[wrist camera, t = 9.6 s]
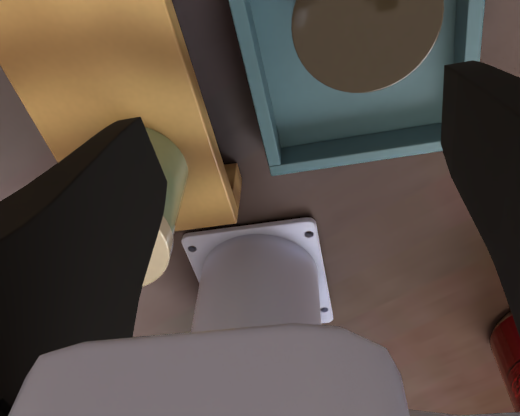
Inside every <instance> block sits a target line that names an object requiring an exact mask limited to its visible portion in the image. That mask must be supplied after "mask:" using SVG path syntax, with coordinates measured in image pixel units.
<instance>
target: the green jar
mask: <svg viewBox="0 0 520 416" xmlns="http://www.w3.org/2000/svg"><path fill="white" fill-rule="evenodd" d="M145 128H146V131H147V133H148V136H149V138H150V141H151V143H152V146H153V148H154V150H155V153H156V155H157V158H158V160H159V163H160V165H161V167H162V170H163V172H164V175H165V177H166V180H167V182H168V183H167V192H166V201H165V208H164V214H163V218H162V222H161V225H160V229H159V232H158V236H157V239H156V242H155V246H154V249H153V252H152V255H151V259H150V262H149V265H148V269H147V272H146V275H145V279H144V282H143V285H142V287H143V286H146V285H148V284H150V283H152V282H154V281H155V280H157V279H158V278H159V277H160V276H161V275H162V274H163V273H164V272H165V270H166V269H167V266H168V264H169V261H170V257H171V253H172V249H173V235H174V231H175V227H176V223H177V219H178V216H179V212H180V208H181V204H182V200H183V197H184V193H185V189H186V185H187V181H188V166H187V163H186V160H185V158H184V156H183V154H182V153H181V151H180V150H179V148H178V147H177V146H176V145H175V144H174V143H173V142H172V141H171V140H170V139H168V138H167V137H166V136H164V135H162V134H161V133H159V132H157V131H155V130H153V129H150V128H147V127H145Z"/></svg>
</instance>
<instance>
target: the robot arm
mask: <svg viewBox="0 0 520 416" xmlns="http://www.w3.org/2000/svg"><path fill="white" fill-rule="evenodd" d="M441 146H442V149H443V153H444V156H445V159H446V162H447V165H448V168H449V171H450V174H451V177H452V179H453V181H454V183H455V185H456V187H457V189H458V191H459V193H460V195H461V197H462V199H463V201H464V203H465V205H466V207H467V209H468V211H469V213H470V215H471V217H472V219H473V221H474V223H475V225H476V227H477V229H478V231H479V233H480V235H481V237H482V239H483V241H484V243H485V245H486V247H487V249H488V251H489V253H490V255H491V258H492V260H493V262H494V265H495V267H496V270H497V273H498V276H499V278H500V281H501V284H502V287H503V289H504V292H505V295H506V298H507V301H508V304H509V307H510V310H511V313H512V316H513V319H514V322H515V325H516V328H517V331H518V334H519V337H520V78H519V77H517V76H514V75H512V74H509V73H507V72H505V71H502V70H500V69H497V68H495V67H492V66H490V65H487V64H484V63H481V62H478V61H474V60H472V61H466V62H460V63H454V64H448V65H444V81H443V102H442V124H441ZM167 183H168V182H167V180H166V177H165V175H164V172H163V170H162V167H161V165H160V163H159V160H158V158H157V155H156V153H155V150H154V148H153V146H152V143H151V141H150V138H149V136H148V133H147V131H146V128H145V126H144V124H143V121H142V119H141V117H135V118H129V119H123V120H118V121H116V122H114V123H112V124H110V125H109V126H107V127H105V128H104V129H103V130H101V131H100V132H98V133H97V134H96V135H94V136H93V137H91V138H90V139H89V140H87V141H86V142H85V143H84V144H82V145H81V146H80V147H78V148H77V149H76V150H74V151H73V152H72V153H70V154H69V155H68V156H66V157H65V158H64V159H63V160H61V161H60V162H59V163H57V164H56V165H54V166H53V167H51V168H50V169H49V170H47V171H46V172H44V173H43V174H42V175H40V176H39V177H37V178H36V179H35V180H33V181H32V182H30V183H29V184H27V185H26V186H24V187H23V188H21V189H20V190H18V191H17V192H15V193H14V194H12V195H10V196H9V197H7V198H5V199H4V200H2V201H0V416H520V412H513V413H495V414H477V415H453V414H444V413H435V412H427V411H418V410H409V409H408V406H407V401H406V396H405V391H404V386H403V382H402V377H401V374H400V372H399V370H398V368H397V366H396V365H395V363H394V361H393V359H392V357H391V356H390V354H389V352H388V350H387V349H386V348H385V347H383V346H381V345H379V344H377V343H375V342H373V341H370V340H368V339H366V338H364V337H362V336H360V335H357V334H355V333H353V332H351V331H349V330H347V329H344V328H342V327H340V326H327V325H321V323H328V322H331V321H332V320H333V312H332V306H331V301H330V296H329V290H328V285H327V279H326V274H325V268H324V263H323V257H322V252H321V246H320V241H319V235H318V230H317V225H316V221H315V220H314V219H313V218H310V217H305V218H298V219H290V220H282V221H275V222H267V223H259V224H252V225H244V226H237V227H229V228H221V229H214V230H206V231H198V232H191V233H186V234H184V235H183V237H182V240H181V242H182V245H183V247H184V250H185V252H186V254H187V256H188V259H189V261H190V263H191V265H192V268H193V270H194V272H195V274H196V277H197V279H198V281H199V283H200V285H199V290H198V296H197V301H196V307H195V312H194V318H193V323H192V329H191V332H186V333H175V334H164V335H153V336H142V337H133V330H134V325H135V319H136V313H137V307H138V302H139V297H140V293H141V289H142V285H143V282H144V279H145V275H146V272H147V269H148V265H149V262H150V259H151V255H152V252H153V249H154V246H155V242H156V239H157V236H158V232H159V229H160V225H161V222H162V218H163V214H164V208H165V201H166V192H167ZM307 231H311V233H306V232H307ZM191 246H194V247H191Z"/></svg>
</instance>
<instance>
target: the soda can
mask: <svg viewBox="0 0 520 416" xmlns="http://www.w3.org/2000/svg"><path fill="white" fill-rule="evenodd" d="M490 345H491V350H492V352H493V355H494V358H495V360H496V363H497V365H498V368H499V371H500V373H501V376H502V379H503V381H504V384H505V386H506V389H507V392H508V394H509V397H510V400H511V402H512V405H513V407H514V410H515V412H520V337H519V334H518V331H517V328H516V325H515V322H514V319H513V316H512V313H511V312H509V313H508V314H507V315H506V316H504V317H503V318H502V319H501V320H500V321H499V322H498V323H497V325H496V327H495V329H494V330H493V332H492V334H491V339H490Z"/></svg>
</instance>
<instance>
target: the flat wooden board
mask: <svg viewBox="0 0 520 416" xmlns="http://www.w3.org/2000/svg"><path fill="white" fill-rule="evenodd" d="M0 65H1V67H2V69H3V71H4V72H5V74H6V76H7V77H8V79H9V81H10V82H11V84H12V86H13V88H14V89H15V91H16V93H17V94H18V96H19V98H20V99H21V101H22V103H23V105H24V106H25V108H26V110H27V111H28V113H29V115H30V116H31V118H32V120H33V121H34V123H35V125H36V127H37V128H38V130H39V132H40V133H41V135H42V137H43V138H44V140H45V142H46V144H47V145H48V147H49V149H50V150H51V152H52V154H53V155H54V157H55V159H56V161H57V162H58V163H59V162H60V161H61V160H63V159H64V158H65V157H66V156H68V155H69V154H70V153H72V152H73V151H74V150H76V149H77V148H78V147H80V146H81V145H82V144H84V143H85V142H86V141H87V140H89V139H90V138H91V137H93V136H94V135H96V134H97V133H98V132H100V131H101V130H103V129H104V128H105V127H107V126H109V125H110V124H112V123H114V122H116V121H118V120H123V119H129V118H135V117H141V119H142V121H143V124H144V126H145V127H147V128H150V129H153V130H155V131H157V132H159V133H161V134H162V135H164V136H166V137H167V138H168V139H170V140H171V141H172V142H173V143H174V144H175V145H176V146H177V147H178V148H179V150H180V151H181V153H182V154H183V156H184V158H185V160H186V163H187V166H188V181H187V185H186V189H185V193H184V197H183V200H182V204H181V208H180V212H179V216H178V219H177V223H176V227H175V231H183V230H190V229H198V228H206V227H213V226H221V225H228V224H236V223H237V218H238V210H239V202H240V194H241V185H242V178H241V175H240V171H239V168H238V165H237V163H232V164H226V165H224V164H223V161H222V157H221V154H220V151H219V148H218V145H217V142H216V139H215V135H214V132H213V129H212V126H211V123H210V120H209V117H208V113H207V110H206V107H205V104H204V101H203V98H202V94H201V91H200V88H199V85H198V82H197V79H196V76H195V72H194V69H193V66H192V63H191V60H190V57H189V54H188V50H187V47H186V44H185V41H184V38H183V35H182V32H181V28H180V25H179V22H178V19H177V16H176V13H175V10H174V6H173V3H172V0H0ZM175 231H174V232H175Z"/></svg>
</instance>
